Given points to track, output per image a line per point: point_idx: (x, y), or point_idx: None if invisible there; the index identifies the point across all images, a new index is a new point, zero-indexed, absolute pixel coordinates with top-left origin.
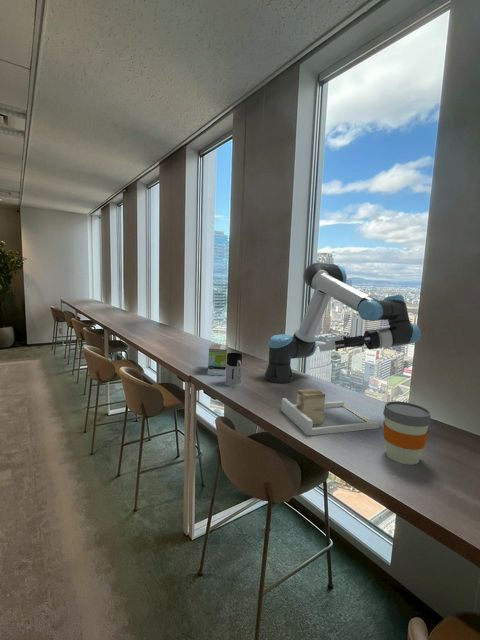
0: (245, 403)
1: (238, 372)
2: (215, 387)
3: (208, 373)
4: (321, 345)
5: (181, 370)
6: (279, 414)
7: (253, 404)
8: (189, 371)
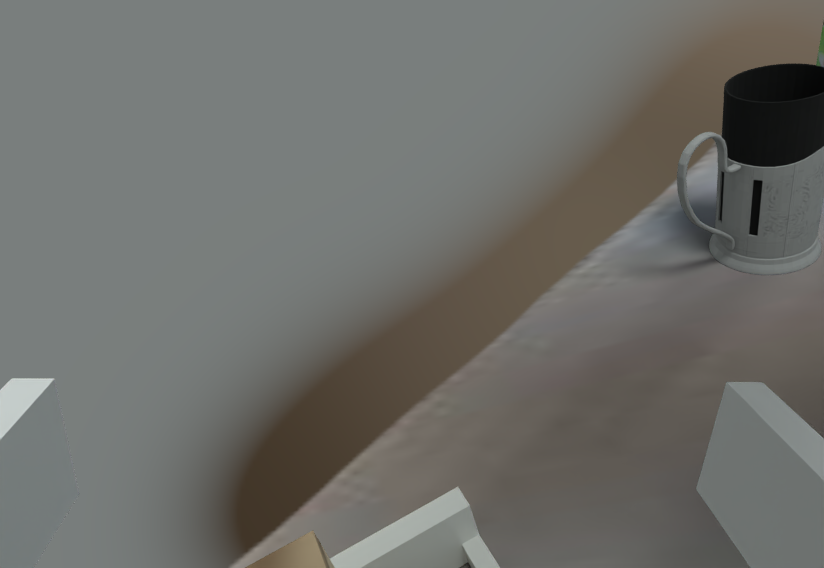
0: (504, 363)
1: (748, 200)
2: (650, 222)
3: None
4: (746, 423)
5: None
6: None
7: (506, 393)
8: None
